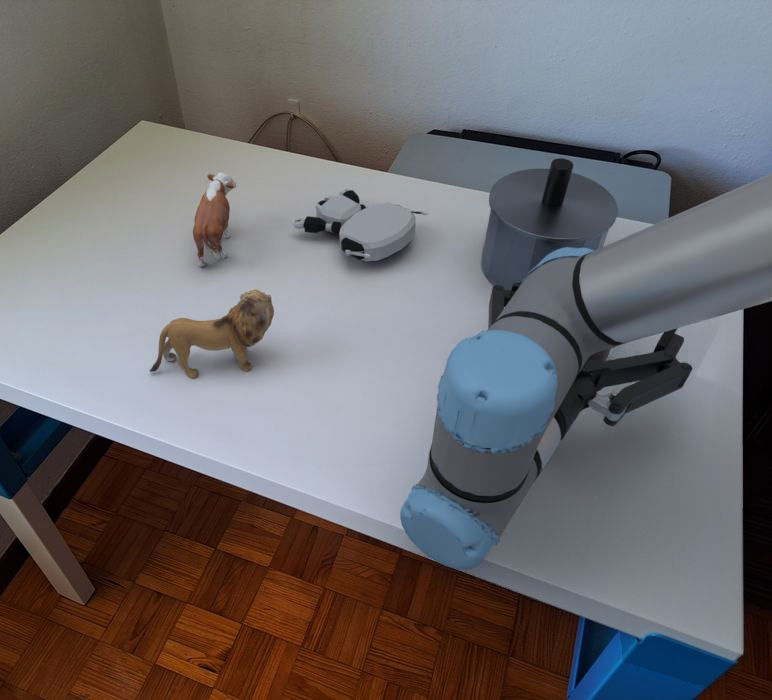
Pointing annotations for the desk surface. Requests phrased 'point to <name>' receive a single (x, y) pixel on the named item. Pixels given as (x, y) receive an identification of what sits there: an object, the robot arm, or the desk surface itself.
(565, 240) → the pot lid
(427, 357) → the desk surface
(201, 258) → the bull figurine
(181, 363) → the lion figurine
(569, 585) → the desk surface
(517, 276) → the pot
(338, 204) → the robot toy
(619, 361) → the robot arm
